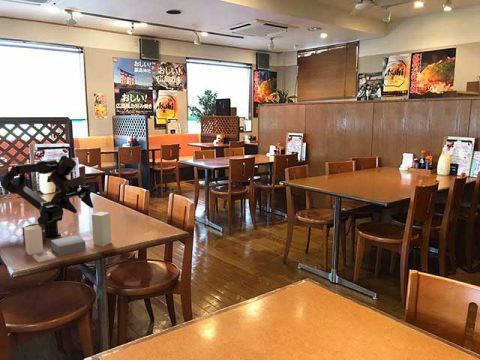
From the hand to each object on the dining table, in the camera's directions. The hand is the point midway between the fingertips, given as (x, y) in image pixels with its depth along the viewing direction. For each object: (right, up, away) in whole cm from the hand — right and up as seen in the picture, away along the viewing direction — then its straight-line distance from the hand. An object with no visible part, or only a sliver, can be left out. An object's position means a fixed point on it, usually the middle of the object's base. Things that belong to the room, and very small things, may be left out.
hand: (84, 210), depth 160 cm
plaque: (-9, -17, -16) cm, 25 cm away
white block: (-16, -16, -10) cm, 24 cm away
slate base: (-4, -16, -7) cm, 18 cm away
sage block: (+7, -14, 0) cm, 16 cm away
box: (-22, -14, +1) cm, 26 cm away
